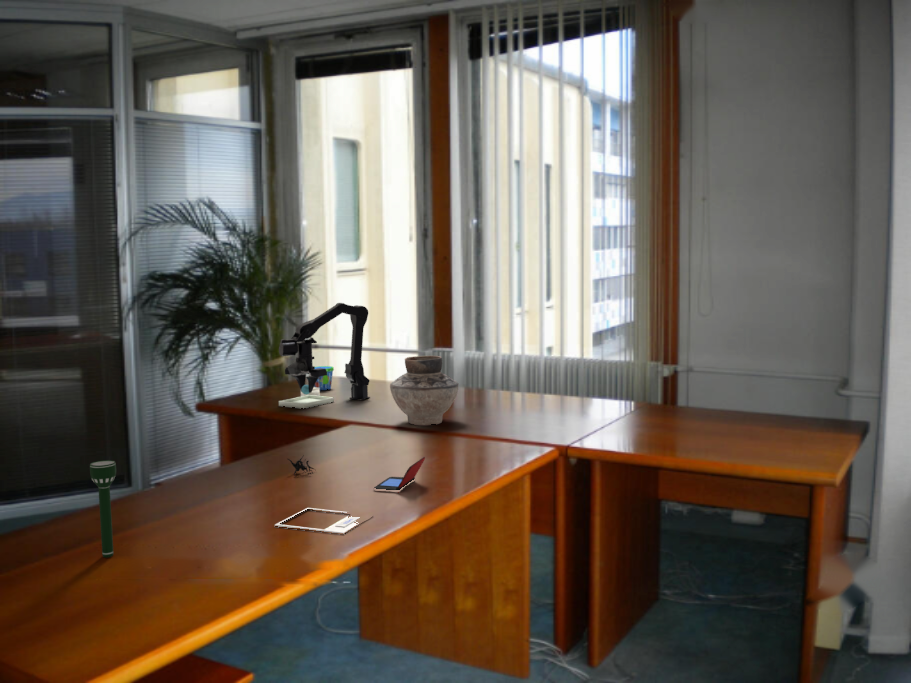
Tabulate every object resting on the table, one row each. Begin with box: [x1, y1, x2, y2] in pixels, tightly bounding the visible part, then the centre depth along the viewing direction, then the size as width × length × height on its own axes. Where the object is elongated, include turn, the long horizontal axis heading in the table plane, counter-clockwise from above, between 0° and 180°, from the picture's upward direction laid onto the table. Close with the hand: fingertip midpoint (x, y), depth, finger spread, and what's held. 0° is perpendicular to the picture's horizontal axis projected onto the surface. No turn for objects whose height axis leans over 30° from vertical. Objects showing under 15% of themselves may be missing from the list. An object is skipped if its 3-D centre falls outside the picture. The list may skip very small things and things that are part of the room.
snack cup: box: [314, 365, 335, 391], centre depth 415 cm, size 16×10×10 cm
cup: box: [299, 387, 321, 397], centre depth 392 cm, size 8×8×4 cm
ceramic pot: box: [389, 355, 460, 426], centre depth 332 cm, size 25×25×24 cm
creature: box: [287, 454, 315, 476], centre depth 258 cm, size 8×5×8 cm
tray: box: [278, 395, 335, 410], centre depth 376 cm, size 14×18×2 cm
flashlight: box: [89, 459, 117, 559], centre depth 190 cm, size 5×5×20 cm
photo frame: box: [274, 507, 360, 535], centre depth 213 cm, size 15×1×18 cm
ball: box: [300, 384, 309, 394], centre depth 375 cm, size 4×4×4 cm
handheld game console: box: [373, 456, 426, 490], centre depth 243 cm, size 12×11×7 cm
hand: (306, 392), depth 376 cm, fingers closed on ball, 4 cm apart
